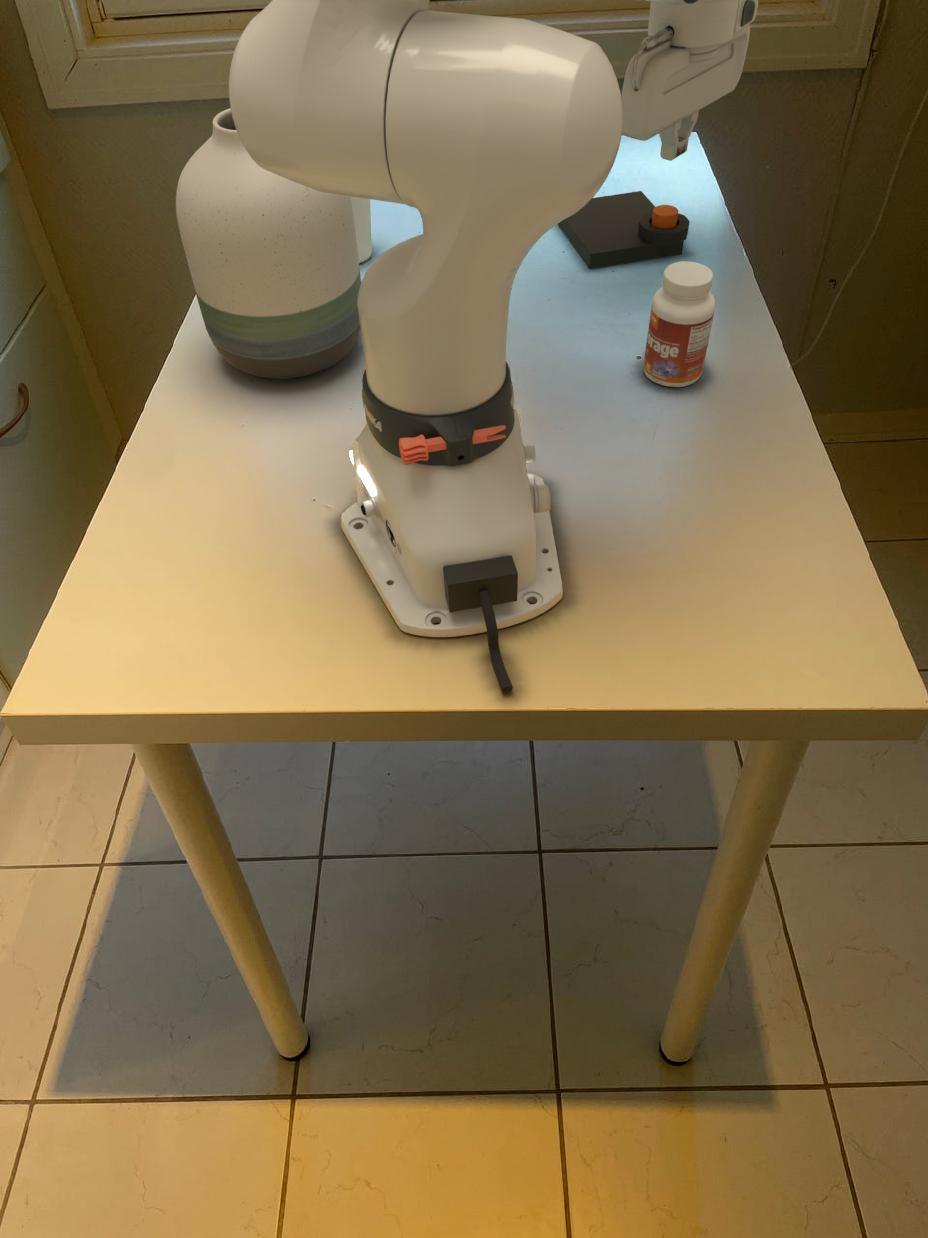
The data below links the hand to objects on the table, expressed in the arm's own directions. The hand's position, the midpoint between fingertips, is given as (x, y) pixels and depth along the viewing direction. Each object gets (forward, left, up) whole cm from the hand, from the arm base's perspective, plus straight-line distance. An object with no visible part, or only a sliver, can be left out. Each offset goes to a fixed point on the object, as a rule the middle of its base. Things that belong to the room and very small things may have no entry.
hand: (673, 155), depth 106 cm
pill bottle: (-25, +9, -12) cm, 29 cm away
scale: (+5, +4, -11) cm, 13 cm away
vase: (-9, +47, -12) cm, 49 cm away
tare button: (0, 0, -8) cm, 8 cm away
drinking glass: (+10, +37, -12) cm, 40 cm away
